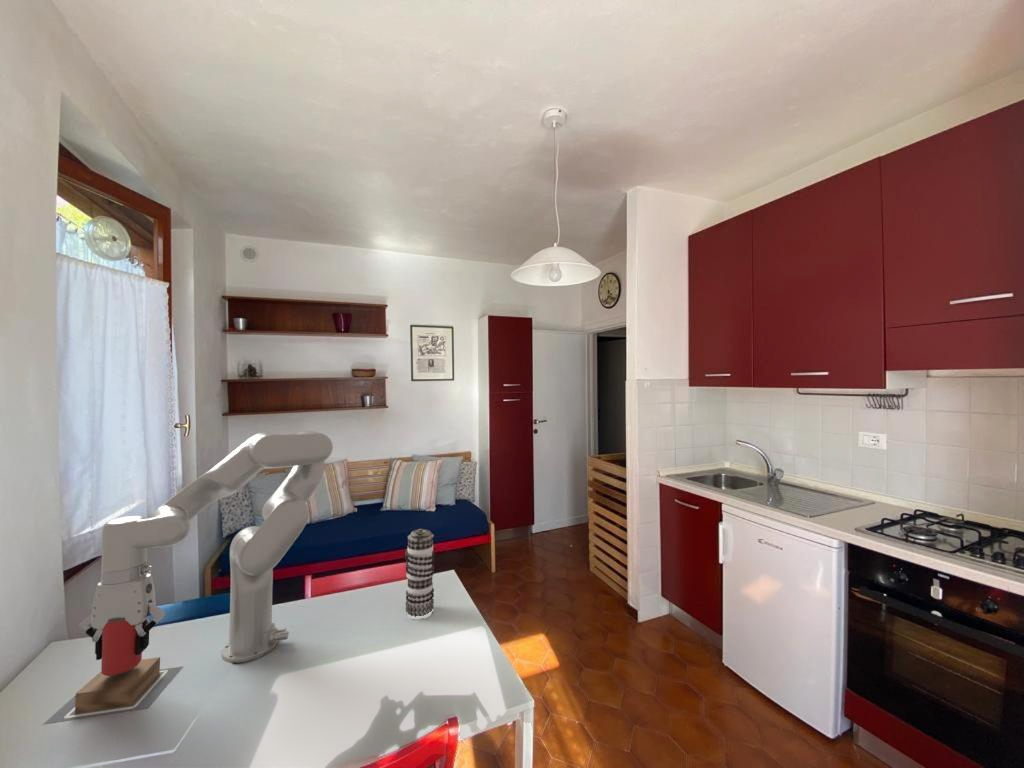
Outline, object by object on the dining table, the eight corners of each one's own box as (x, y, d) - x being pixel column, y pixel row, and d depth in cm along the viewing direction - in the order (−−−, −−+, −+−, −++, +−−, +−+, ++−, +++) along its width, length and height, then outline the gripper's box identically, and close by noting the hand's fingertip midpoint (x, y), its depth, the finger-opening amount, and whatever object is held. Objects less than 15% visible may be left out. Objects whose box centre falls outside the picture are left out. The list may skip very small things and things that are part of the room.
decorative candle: (406, 606, 131) (407, 527, 132) (435, 604, 132) (436, 526, 133) (402, 621, 122) (403, 536, 123) (433, 619, 123) (434, 535, 124)
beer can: (116, 679, 88) (118, 623, 89) (92, 675, 90) (94, 619, 90) (149, 660, 95) (150, 607, 95) (126, 656, 96) (128, 604, 96)
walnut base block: (159, 674, 98) (160, 657, 98) (131, 704, 88) (132, 685, 88) (109, 681, 96) (109, 663, 96) (74, 713, 86) (75, 693, 86)
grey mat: (183, 668, 101) (183, 666, 101) (147, 710, 87) (147, 708, 87) (94, 679, 96) (94, 677, 97) (42, 726, 83) (42, 723, 83)
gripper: (178, 562, 98) (176, 638, 98) (90, 570, 94) (88, 649, 94) (159, 576, 91) (157, 658, 91) (63, 584, 87) (61, 670, 87)
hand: (122, 653), depth 92 cm, fingers closed on beer can, 6 cm apart
